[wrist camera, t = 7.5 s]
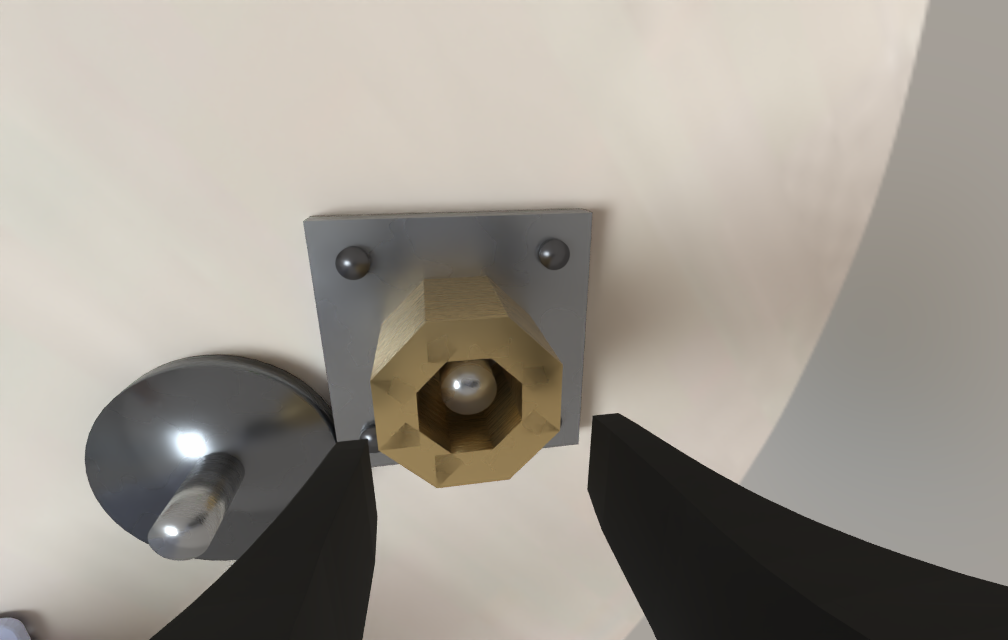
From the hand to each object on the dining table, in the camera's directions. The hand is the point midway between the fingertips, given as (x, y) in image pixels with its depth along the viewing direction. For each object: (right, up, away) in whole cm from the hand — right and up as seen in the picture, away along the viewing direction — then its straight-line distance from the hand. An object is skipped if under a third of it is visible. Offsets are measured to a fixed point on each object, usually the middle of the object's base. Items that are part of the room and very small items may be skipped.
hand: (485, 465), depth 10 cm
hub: (-1, +3, +7) cm, 7 cm away
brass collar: (-1, +2, +6) cm, 6 cm away
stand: (-10, -2, +7) cm, 12 cm away
